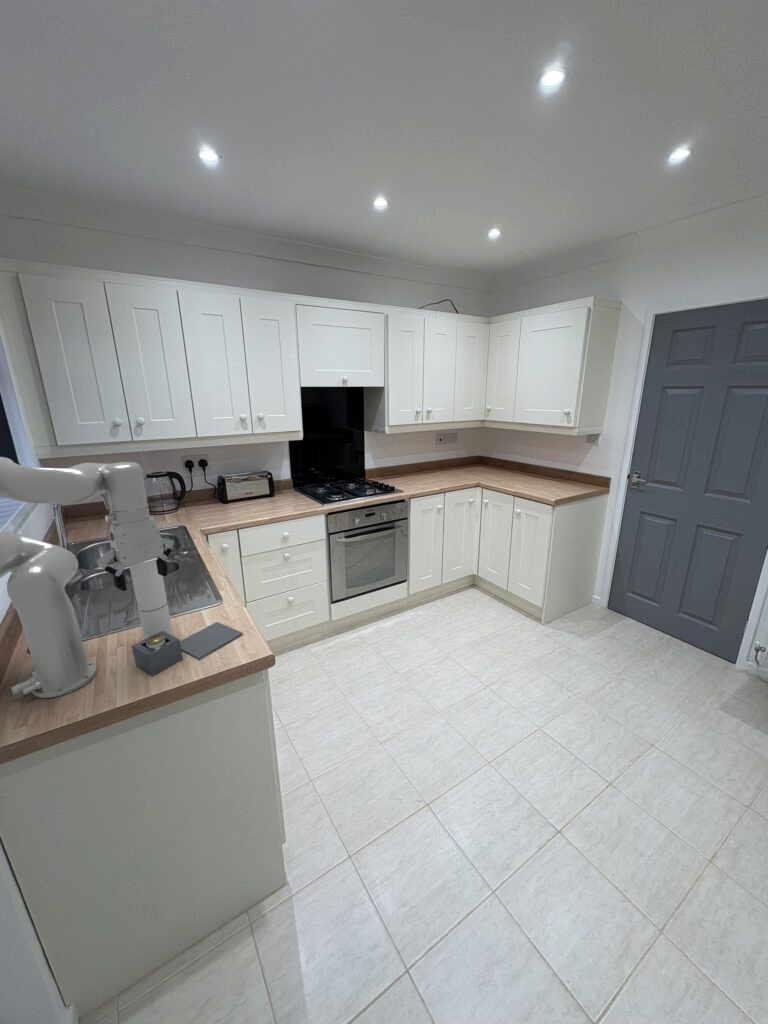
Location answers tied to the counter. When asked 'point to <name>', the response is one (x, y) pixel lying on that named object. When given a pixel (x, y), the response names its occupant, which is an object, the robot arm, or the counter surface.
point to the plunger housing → (157, 655)
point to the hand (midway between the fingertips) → (143, 582)
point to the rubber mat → (208, 640)
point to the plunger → (155, 641)
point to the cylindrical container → (151, 598)
